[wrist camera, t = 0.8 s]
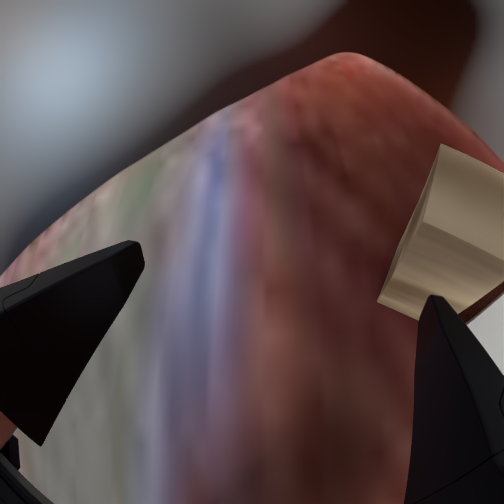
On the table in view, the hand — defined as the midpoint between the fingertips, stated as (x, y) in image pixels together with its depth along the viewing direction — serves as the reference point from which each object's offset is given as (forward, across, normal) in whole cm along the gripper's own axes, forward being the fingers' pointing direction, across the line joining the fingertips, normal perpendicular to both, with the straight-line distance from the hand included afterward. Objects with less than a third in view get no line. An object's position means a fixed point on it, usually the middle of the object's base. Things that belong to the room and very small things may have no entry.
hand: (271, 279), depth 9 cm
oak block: (+14, -9, +9) cm, 19 cm away
